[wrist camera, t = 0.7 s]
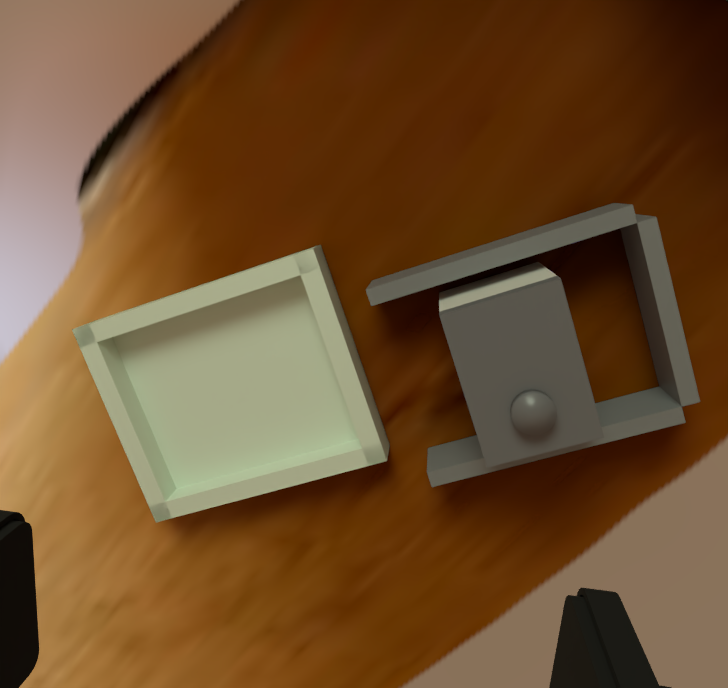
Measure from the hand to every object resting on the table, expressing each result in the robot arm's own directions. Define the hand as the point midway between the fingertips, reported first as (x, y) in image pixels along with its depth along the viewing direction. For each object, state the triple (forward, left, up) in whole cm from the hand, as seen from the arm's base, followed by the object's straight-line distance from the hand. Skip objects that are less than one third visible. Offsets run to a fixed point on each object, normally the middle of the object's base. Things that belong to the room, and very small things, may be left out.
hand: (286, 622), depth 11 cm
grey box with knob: (-6, +2, -22) cm, 23 cm away
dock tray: (+8, 0, -22) cm, 24 cm away
